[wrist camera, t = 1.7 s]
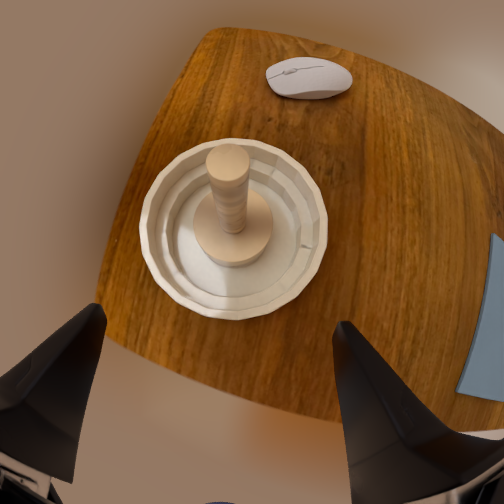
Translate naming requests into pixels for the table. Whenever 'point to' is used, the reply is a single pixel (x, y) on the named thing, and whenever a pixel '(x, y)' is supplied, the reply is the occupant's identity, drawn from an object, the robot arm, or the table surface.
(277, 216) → the bowl
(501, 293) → the mat
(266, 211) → the wooden stamp
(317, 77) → the computer mouse
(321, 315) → the table surface
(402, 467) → the robot arm
